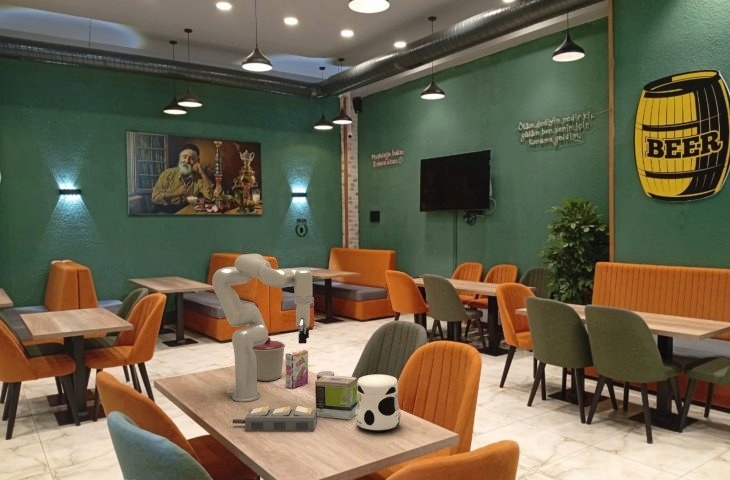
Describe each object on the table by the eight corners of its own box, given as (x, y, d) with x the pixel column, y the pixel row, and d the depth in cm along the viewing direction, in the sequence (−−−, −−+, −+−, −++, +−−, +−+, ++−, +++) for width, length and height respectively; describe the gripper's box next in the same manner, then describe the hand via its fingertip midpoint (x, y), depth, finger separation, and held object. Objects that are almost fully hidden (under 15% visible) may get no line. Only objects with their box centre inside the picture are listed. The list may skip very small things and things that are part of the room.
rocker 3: (294, 414, 205) (295, 410, 204) (296, 409, 210) (297, 405, 209) (309, 417, 204) (310, 413, 204) (311, 413, 209) (312, 408, 209)
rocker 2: (273, 417, 205) (272, 413, 205) (275, 413, 210) (274, 408, 210) (288, 414, 205) (287, 410, 205) (290, 409, 210) (289, 405, 210)
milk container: (349, 422, 211) (348, 376, 211) (389, 415, 218) (388, 371, 217) (365, 438, 195) (364, 389, 195) (408, 430, 202) (407, 383, 201)
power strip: (229, 431, 204) (229, 417, 204) (236, 422, 213) (236, 409, 213) (313, 431, 202) (313, 417, 202) (317, 422, 211) (316, 409, 211)
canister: (292, 375, 277) (292, 334, 277) (272, 385, 261) (272, 342, 260) (263, 371, 285) (262, 332, 284) (242, 381, 268) (241, 339, 268)
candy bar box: (293, 389, 254) (292, 354, 254) (285, 387, 257) (284, 353, 256) (308, 383, 263) (308, 350, 263) (301, 381, 266) (300, 348, 266)
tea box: (358, 412, 222) (358, 376, 222) (349, 420, 213) (349, 383, 212) (325, 408, 227) (324, 373, 227) (315, 416, 218) (314, 380, 217)
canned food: (335, 394, 245) (335, 370, 245) (333, 400, 237) (332, 375, 237) (319, 394, 246) (318, 370, 245) (315, 400, 238) (315, 375, 237)
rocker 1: (251, 417, 205) (250, 413, 205) (254, 413, 210) (253, 408, 210) (266, 414, 205) (265, 410, 205) (269, 409, 210) (268, 405, 210)
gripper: (296, 296, 232) (297, 336, 233) (291, 303, 215) (292, 345, 216) (314, 296, 232) (314, 336, 233) (310, 302, 215) (310, 345, 216)
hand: (303, 340), depth 224 cm, fingers open, 9 cm apart
